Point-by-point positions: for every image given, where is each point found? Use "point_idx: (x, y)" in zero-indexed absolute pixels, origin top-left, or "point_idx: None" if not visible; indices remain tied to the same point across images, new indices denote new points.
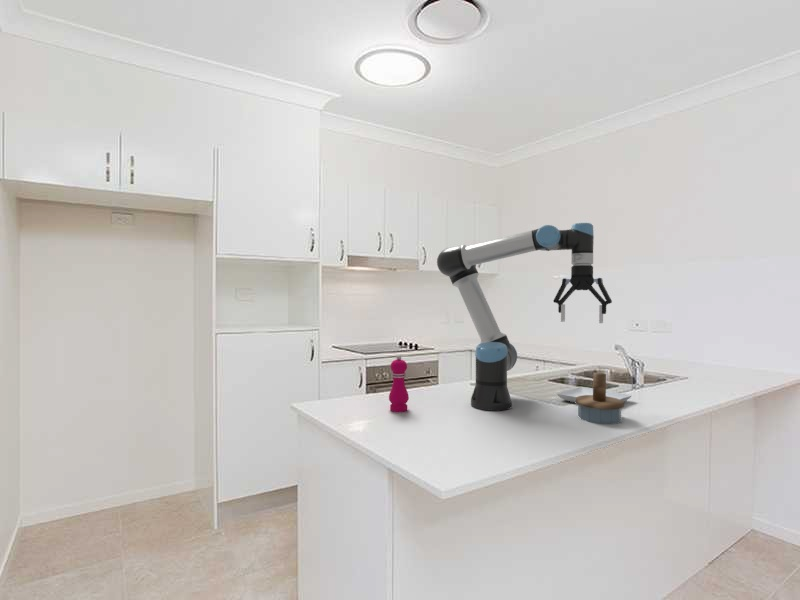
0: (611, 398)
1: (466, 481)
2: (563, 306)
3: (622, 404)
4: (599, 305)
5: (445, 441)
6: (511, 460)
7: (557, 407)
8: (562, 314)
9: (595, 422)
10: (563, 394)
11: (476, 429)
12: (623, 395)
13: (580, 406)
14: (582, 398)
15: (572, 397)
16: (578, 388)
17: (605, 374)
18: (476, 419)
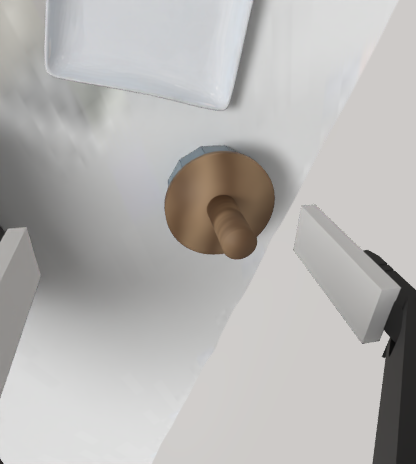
0: (244, 171)
1: (153, 456)
2: (1, 372)
3: (272, 211)
4: (361, 342)
5: (62, 422)
6: (163, 412)
7: (94, 152)
8: (21, 317)
9: None
10: (56, 31)
11: (58, 373)
12: None
13: None
14: (182, 216)
15: (110, 85)
16: None
17: (255, 242)
18: None
